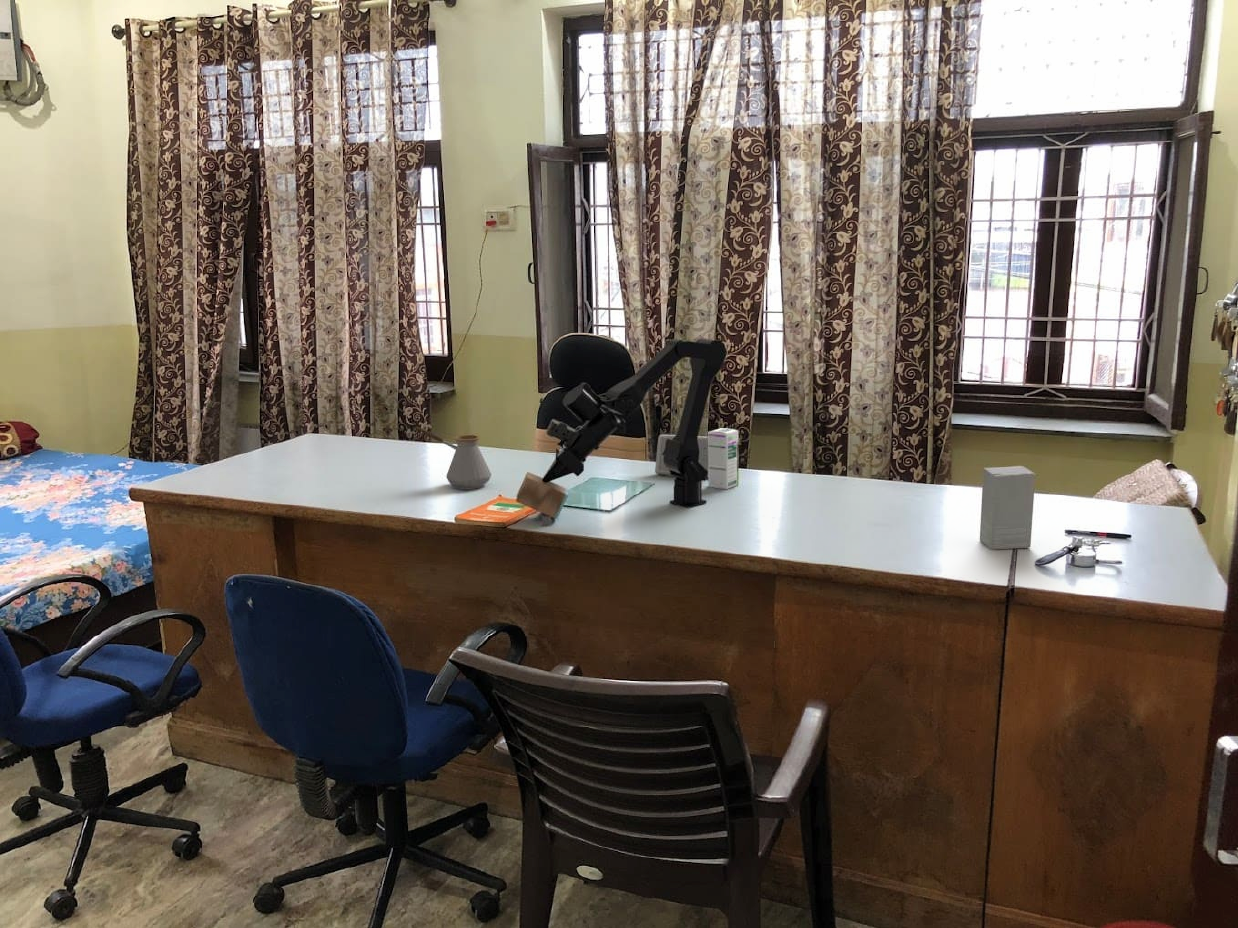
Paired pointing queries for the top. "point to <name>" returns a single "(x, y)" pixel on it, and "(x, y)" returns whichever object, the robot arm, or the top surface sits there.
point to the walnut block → (542, 495)
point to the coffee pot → (465, 462)
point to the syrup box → (723, 458)
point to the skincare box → (1007, 507)
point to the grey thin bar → (546, 520)
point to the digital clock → (660, 464)
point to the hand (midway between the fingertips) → (543, 481)
